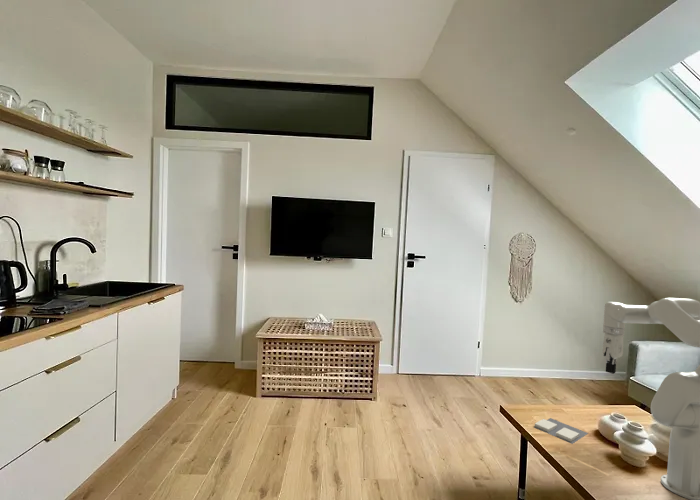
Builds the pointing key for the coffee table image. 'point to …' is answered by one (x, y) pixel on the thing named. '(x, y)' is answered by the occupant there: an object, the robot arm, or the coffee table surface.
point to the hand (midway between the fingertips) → (610, 372)
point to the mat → (561, 426)
